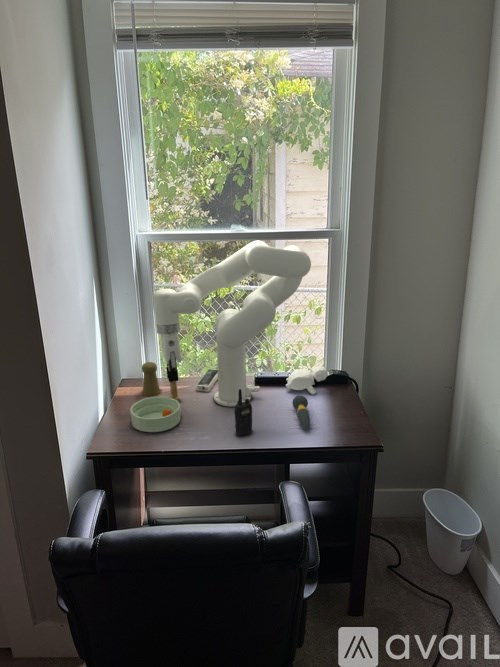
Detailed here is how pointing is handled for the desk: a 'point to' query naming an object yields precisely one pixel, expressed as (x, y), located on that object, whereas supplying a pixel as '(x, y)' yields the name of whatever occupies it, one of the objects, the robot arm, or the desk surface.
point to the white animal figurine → (305, 378)
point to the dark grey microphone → (302, 411)
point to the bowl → (155, 414)
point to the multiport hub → (207, 381)
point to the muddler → (174, 390)
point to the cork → (150, 379)
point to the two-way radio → (243, 416)
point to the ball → (166, 412)
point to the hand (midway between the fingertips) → (172, 378)
